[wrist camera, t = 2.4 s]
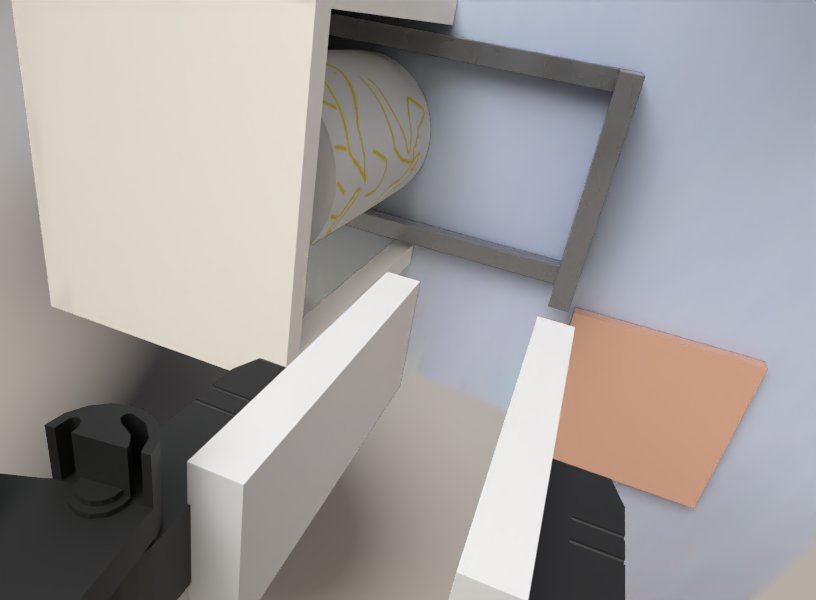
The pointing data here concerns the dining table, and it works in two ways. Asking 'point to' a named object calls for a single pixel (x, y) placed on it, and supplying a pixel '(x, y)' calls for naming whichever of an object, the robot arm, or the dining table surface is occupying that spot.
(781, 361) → the dining table surface
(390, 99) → the cup
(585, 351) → the coaster
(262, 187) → the shelf
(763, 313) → the dining table surface
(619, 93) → the frame
